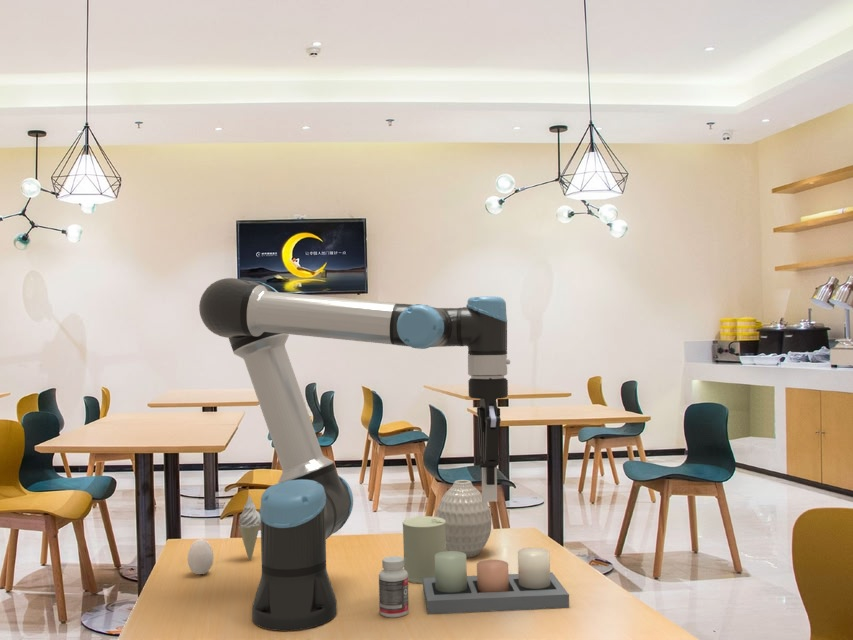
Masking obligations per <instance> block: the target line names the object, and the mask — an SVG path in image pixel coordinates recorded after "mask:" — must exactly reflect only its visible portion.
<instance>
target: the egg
mask: <svg viewBox="0 0 853 640" xmlns="http://www.w3.org/2000/svg"><path fill="white" fill-rule="evenodd" d="M213 550H214V549H213V548H212V546H211V544H210V543H209V541H207V539H205V538H198V539H196V540H195V541H193V542H192V544H191V546H190V548H189V549H188V553H187V565H188V568H189V569H190V571H191V572H192V573H194V575H197V574H203V575H205V574H206V573H208V572H209V571H210V569H211V568H212V566H213V563H214V551H213Z"/></svg>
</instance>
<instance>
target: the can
mask: <svg viewBox="0 0 853 640" xmlns="http://www.w3.org/2000/svg"><path fill="white" fill-rule="evenodd" d="M402 539H403V540H402V542H403V558H404V564H405V565H404V567H403V569H404V570H406V571H407V573H408V583H413V584H421V585H423V578H435V554H437V553H439V552H443V551H447V550H446V521H445V520H444V519H443V518H439V517H436V516H429V515H427V516H426V515H424V516H423V515H422V516H413V517H408V518H405V519H404V520H403V521H402Z"/></svg>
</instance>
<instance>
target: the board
mask: <svg viewBox="0 0 853 640" xmlns="http://www.w3.org/2000/svg"><path fill="white" fill-rule="evenodd" d="M422 592H423V596H424V597H423V598H424V603H425V606H426V612H427V613H426V614H427V615H439V614H440V615H442V614H461V613H462V614H463V613H482V612H483V613H485V612H502V611H503V612H504V611H527V610H528V611H529V610H542V609H543V610H546V609H547V610H548V609H550V610H551V609H565V608H566V609H567V608H570V594H569V592H568V591H567V589H566V588H564V586H563V584H562V583H561V582H560V581H559V579H558V578H557V577H556V575H555V574H554V573H553V572H551V571H550V586H548V587H546V588H540V589H531V588H525V587H522V586H520V585H519V576H518V573H510V574H509V591H508V592H486V593H477V575H467V589H465V590H463V591H460V592H453V593H448V592H441V591H438V590H437V589H436V588H435V578H423V584H422Z"/></svg>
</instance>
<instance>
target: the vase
mask: <svg viewBox="0 0 853 640" xmlns="http://www.w3.org/2000/svg"><path fill="white" fill-rule="evenodd" d="M437 506H438V507H437V509H436V513H435V517H439V518H443V519H444V520H445V521H446V551H459V552H463V553H465V554H466V559H469V558H468V557H470V558H474V557H477V556H478V555H479V554H480V553H482V551H483V549H484V548H485V546H486V544H487V543H488V541H489V538H490V536H491V531H492V525H493V524H492V512H491V509H490V506H489V503H488V502H483V501H482V492H480V490H478V488H477V487H475V486H474V485H473V483H472V481H471V480H467V479H458V480H457V479H456V480H455V481H453V484H452V486H451V487H449V489H448V490H447V491H446V492H445V493H444V494H443V496H442V497H441V499H440V501H439V503H438V505H437ZM476 555H477V556H476Z"/></svg>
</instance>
